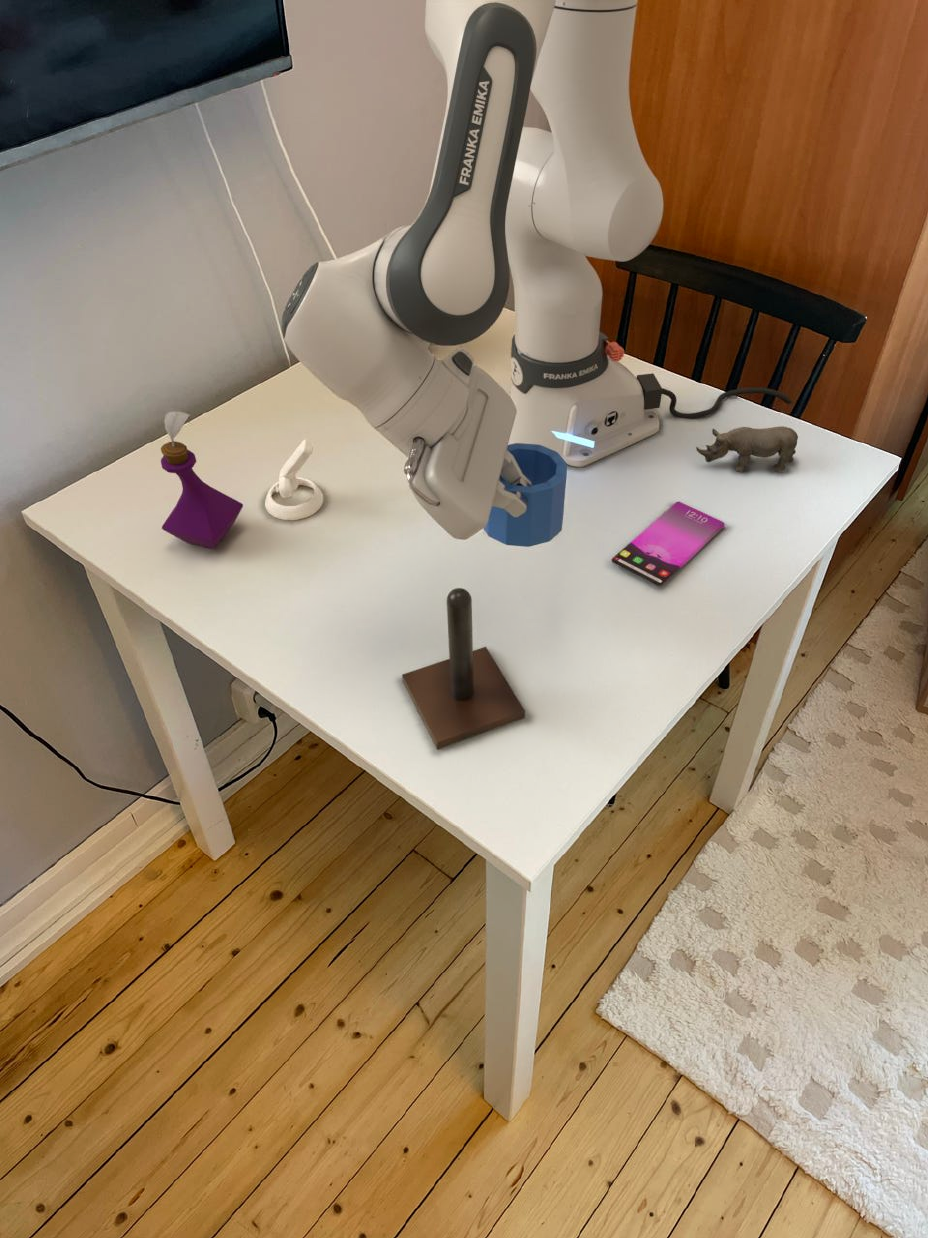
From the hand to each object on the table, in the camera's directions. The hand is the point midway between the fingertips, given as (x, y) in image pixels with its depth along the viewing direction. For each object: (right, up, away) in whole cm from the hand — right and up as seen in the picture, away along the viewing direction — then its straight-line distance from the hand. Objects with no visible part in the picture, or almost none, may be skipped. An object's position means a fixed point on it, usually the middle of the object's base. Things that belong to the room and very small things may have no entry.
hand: (524, 501), depth 97 cm
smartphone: (+19, -3, +22) cm, 29 cm away
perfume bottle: (-39, -1, +25) cm, 46 cm away
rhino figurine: (+32, +9, +33) cm, 47 cm away
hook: (-29, +3, +30) cm, 41 cm away
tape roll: (0, -1, +6) cm, 7 cm away
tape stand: (-6, -21, +5) cm, 22 cm away
